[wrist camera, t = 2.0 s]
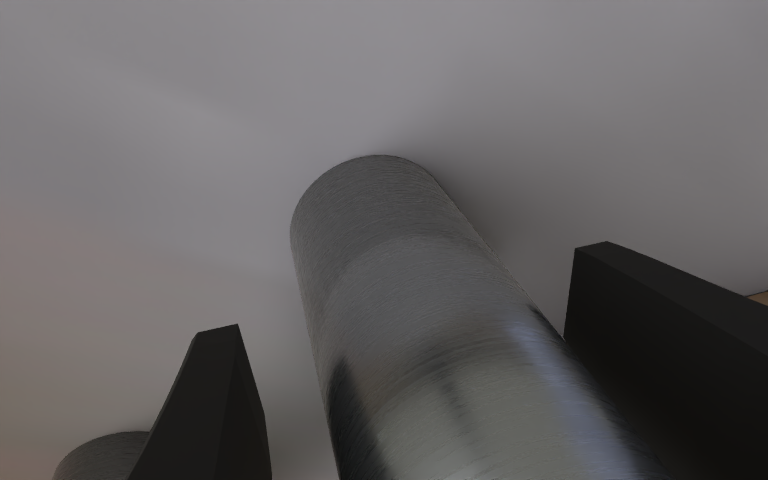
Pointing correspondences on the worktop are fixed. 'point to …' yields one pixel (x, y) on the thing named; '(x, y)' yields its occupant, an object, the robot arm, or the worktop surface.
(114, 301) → the worktop surface
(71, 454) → the short pin
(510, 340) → the long pin
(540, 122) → the worktop surface
